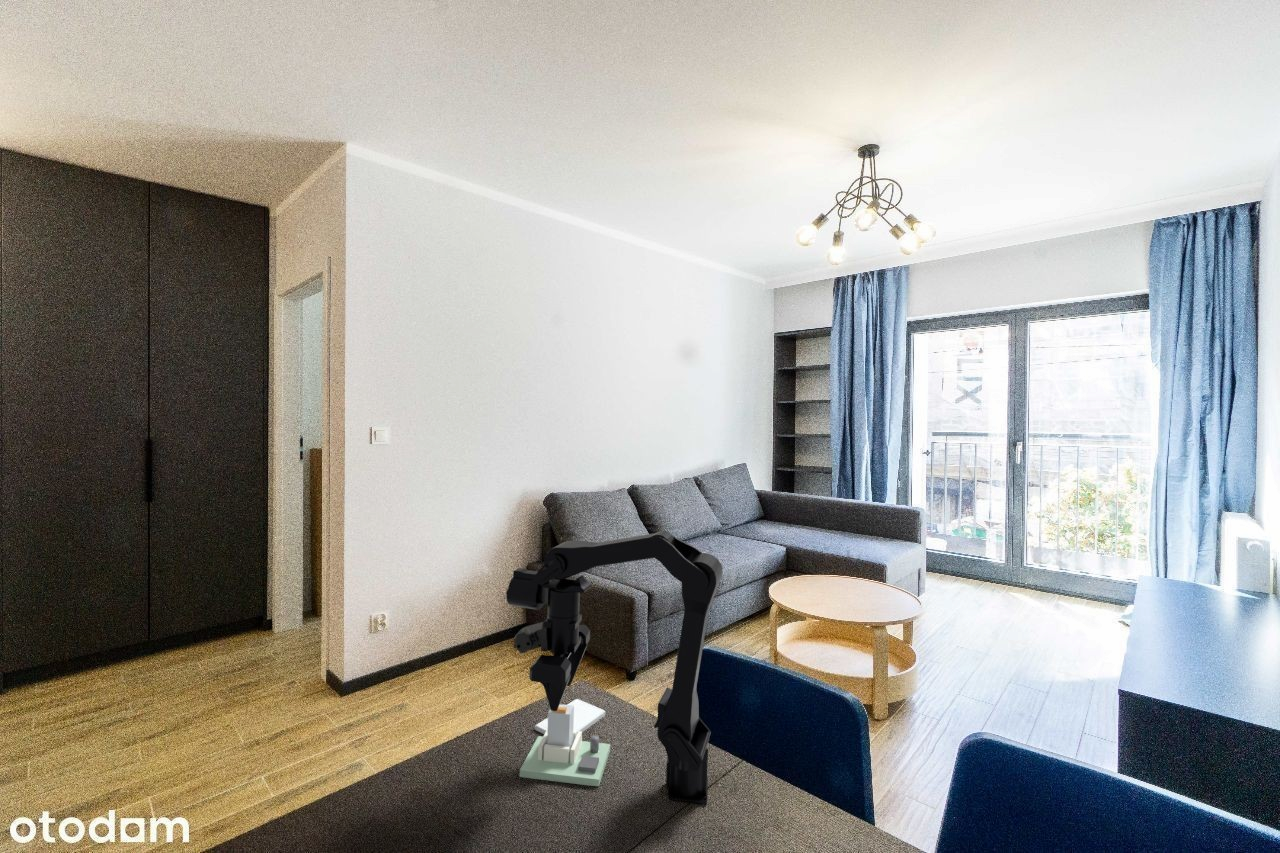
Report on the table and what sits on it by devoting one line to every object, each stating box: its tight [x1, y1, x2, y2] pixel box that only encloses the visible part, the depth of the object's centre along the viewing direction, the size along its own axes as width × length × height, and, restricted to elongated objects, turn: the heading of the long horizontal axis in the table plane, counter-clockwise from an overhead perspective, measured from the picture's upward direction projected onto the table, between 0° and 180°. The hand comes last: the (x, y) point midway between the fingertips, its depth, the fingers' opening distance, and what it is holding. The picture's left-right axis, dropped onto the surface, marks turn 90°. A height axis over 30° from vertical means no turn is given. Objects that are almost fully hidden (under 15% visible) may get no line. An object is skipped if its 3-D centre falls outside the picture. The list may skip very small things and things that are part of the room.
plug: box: [547, 703, 574, 757], centre depth 98 cm, size 4×3×9 cm
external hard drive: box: [534, 698, 606, 735], centre depth 110 cm, size 2×8×12 cm
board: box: [519, 729, 611, 787], centre depth 97 cm, size 14×10×4 cm
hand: (561, 697), depth 98 cm, fingers open, 8 cm apart
